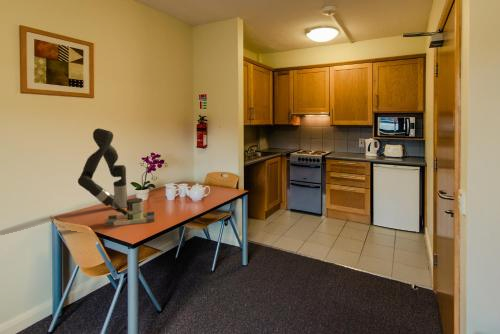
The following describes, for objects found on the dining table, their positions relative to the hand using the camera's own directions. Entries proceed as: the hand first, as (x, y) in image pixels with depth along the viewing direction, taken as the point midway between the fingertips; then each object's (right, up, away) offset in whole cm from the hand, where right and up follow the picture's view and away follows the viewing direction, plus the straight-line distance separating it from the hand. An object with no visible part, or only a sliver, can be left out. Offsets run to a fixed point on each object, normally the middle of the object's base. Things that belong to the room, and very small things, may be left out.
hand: (126, 213), depth 201 cm
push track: (+3, -5, +2) cm, 6 cm away
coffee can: (+5, -5, +2) cm, 7 cm away
